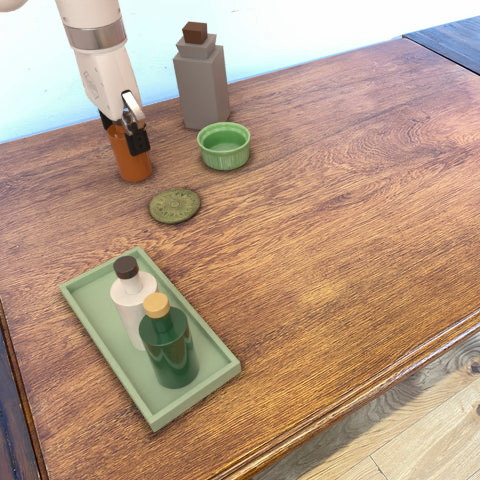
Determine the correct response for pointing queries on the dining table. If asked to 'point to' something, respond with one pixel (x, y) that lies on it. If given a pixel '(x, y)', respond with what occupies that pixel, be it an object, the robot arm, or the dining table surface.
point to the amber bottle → (128, 154)
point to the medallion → (174, 205)
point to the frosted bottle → (131, 296)
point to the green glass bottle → (168, 342)
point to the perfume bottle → (201, 77)
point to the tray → (137, 362)
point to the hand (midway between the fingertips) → (127, 139)
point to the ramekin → (224, 145)
